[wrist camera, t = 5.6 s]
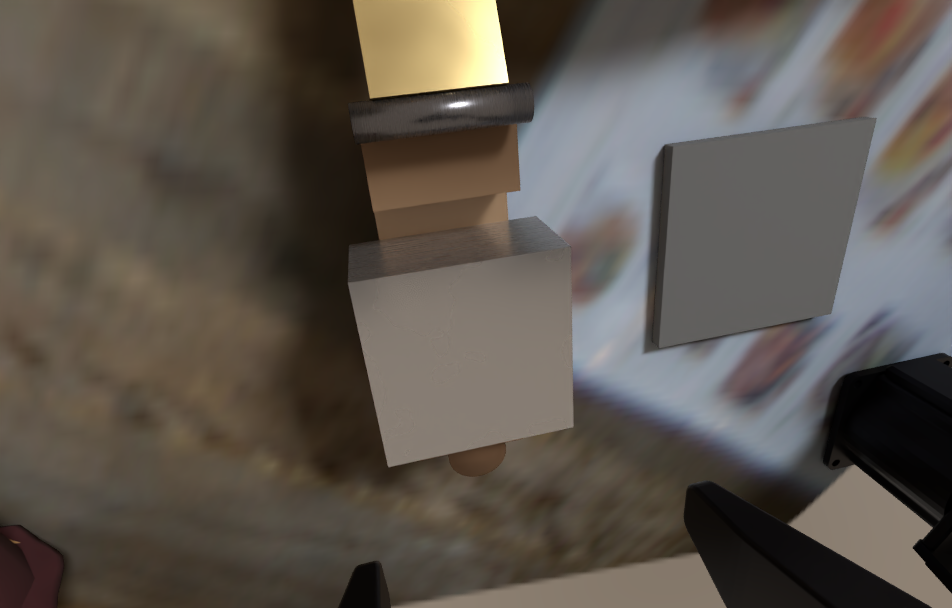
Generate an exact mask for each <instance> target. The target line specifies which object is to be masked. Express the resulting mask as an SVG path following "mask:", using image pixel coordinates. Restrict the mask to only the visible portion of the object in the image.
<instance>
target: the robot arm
mask: <svg viewBox="0 0 952 608" xmlns="http://www.w3.org/2000/svg"><path fill="white" fill-rule="evenodd" d="M823 463H824V465H826V466H827V467H828V468H829V469H831V470H833V469H838V468H842V467H846V466H850V465H854V464H855V465H856V466H858V467H859V468H860V469H861V470H862V471H864V472H865V473H866V474H868V475H869V476H870V477H871V478H872V479H874V480H875V481H876V482H877V483H879V484H880V485H881V486H882V487H883V488H885V489H886V490H887V491H888V492H890V493H891V494H892V495H893V496H895V497H896V498H897V499H898V500H900V501H901V502H902V503H903V504H905V505H906V506H907V507H908V508H909V509H911V510H912V511H913V512H914V513H916V514H917V515H918V516H919V517H920V518H922V519H923V520H924V521H925V522H927V523H928V524H929V525H930V526H932V527H933V529H932V530H931V531H930V532H929V533H928V534H927V535H926V537H925V538H924V539H923V540H921V539H920V540H919V541H918V542H917V543H916V544H915V545H914V546H913V549H914V550H915V551H916V552H917V553H918V555H919V556H920V557H921V558H922V559H923V560H924V561H925V564H926V566H927V567H928V568H929V569H930V570H931V571H932V572H933V573H934V574H935V576H936V577H937V578H938V579H939V580H940V581H941V582H942V583H943V584H944V585H945V586H946V588H947V589H948V590H949V591H950V592H951V593H952V357H951V356H949V355H947V354H945V353H939V354H935V355H930V356H926V357H921V358H917V359H912V360H907V361H903V362H898V363H894V364H889V365H885V366H880V367H875V368H871V369H866V370H862V371H857V372H853V373H851V374H849V375H848V376H847V377H846V378H845V380H844V382H843V386H842V389H841V393H840V397H839V401H838V405H837V409H836V412H835V416H834V420H833V424H832V428H831V431H830V435H829V439H828V443H827V447H826V451H825V454H824V458H823ZM684 522H685V526H686V528H687V531H688V533H689V535H690V537H691V539H692V541H693V542H694V544H695V546H696V548H697V550H698V552H699V554H700V556H701V558H702V560H703V562H704V564H705V566H706V568H707V570H708V572H709V574H710V576H711V578H712V580H713V582H714V584H715V586H716V588H717V590H718V592H719V594H720V596H721V598H722V600H723V602H724V603H725V605H726V607H727V608H931V607H930V606H929V605H927V604H925V603H923V602H922V601H920V600H918V599H916V598H915V597H913V596H911V595H909V594H908V593H906V592H904V591H902V590H901V589H899V588H897V587H895V586H894V585H892V584H890V583H888V582H887V581H885V580H883V579H882V578H880V577H878V576H876V575H875V574H873V573H871V572H869V571H867V570H865V569H864V568H862V567H860V566H859V565H857V564H855V563H854V562H852V561H850V560H848V559H847V558H845V557H843V556H841V555H840V554H838V553H836V552H834V551H833V550H831V549H829V548H827V547H825V546H824V545H822V544H820V543H819V542H817V541H815V540H813V539H812V538H810V537H808V536H806V535H805V534H803V533H801V532H799V531H798V530H796V529H794V528H792V527H791V526H789V525H787V524H786V523H784V522H782V521H780V520H779V519H777V518H775V517H773V516H772V515H770V514H768V513H766V512H765V511H763V510H761V509H759V508H758V507H756V506H754V505H752V504H751V503H749V502H747V501H745V500H744V499H742V498H740V497H738V496H737V495H735V494H733V493H732V492H730V491H728V490H726V489H725V488H723V487H721V486H719V485H718V484H716V483H714V482H711V481H702V482H698V483H694V484H691V485H689V486H688V488H687V491H686V499H685V508H684ZM338 608H391V605H390V598H389V592H388V588H387V584H386V581H385V577H384V573H383V569H382V565H381V563H380V562H379V561H373V562H369V563H365V564H361V565H358V566H357V567H356V568H355V569H354V571H353V573H352V576H351V578H350V580H349V583H348V585H347V588H346V590H345V593H344V595H343V597H342V600H341V602H340V605H339V607H338Z"/></svg>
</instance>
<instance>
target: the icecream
mask: <svg viewBox="0 0 952 608" xmlns="http://www.w3.org/2000/svg"><path fill="white" fill-rule="evenodd" d="M63 570H64V559H63V555H62V554H61V553H60V552H58V551H57V550H56V549H55V548H53V547H51V546H50V545H48V544H46V543H45V542H43V541H41V540H40V539H38V538H37V537H36V536H34V535H33V534H32V533H30V532H29V531H28V530H26V529H25V528H24V527H22V526H21V525H11V526H2V527H0V608H57V606H58V592H59V588H60V583H61V579H62V575H63Z"/></svg>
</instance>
